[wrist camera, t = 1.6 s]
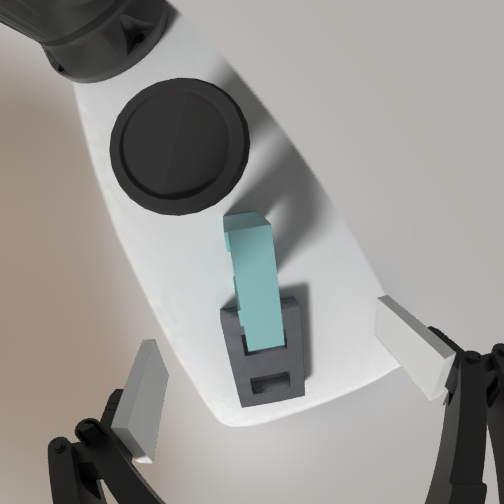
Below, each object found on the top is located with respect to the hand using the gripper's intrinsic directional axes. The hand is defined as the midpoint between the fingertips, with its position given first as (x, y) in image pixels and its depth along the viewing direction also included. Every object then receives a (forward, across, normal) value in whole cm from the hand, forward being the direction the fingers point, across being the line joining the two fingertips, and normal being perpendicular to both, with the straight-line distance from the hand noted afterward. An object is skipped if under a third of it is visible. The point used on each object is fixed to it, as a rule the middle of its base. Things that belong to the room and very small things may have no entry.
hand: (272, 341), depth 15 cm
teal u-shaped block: (+17, 0, 0) cm, 17 cm away
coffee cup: (+17, -4, +12) cm, 21 cm away
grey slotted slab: (+17, 0, -14) cm, 22 cm away
